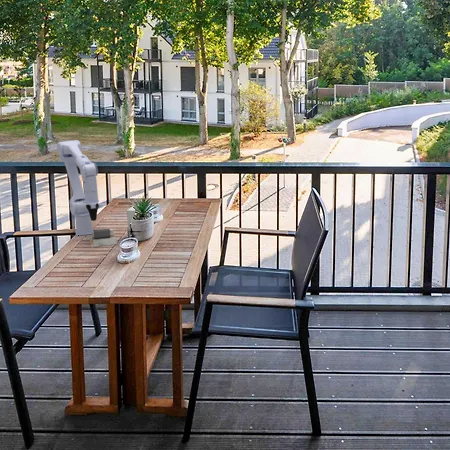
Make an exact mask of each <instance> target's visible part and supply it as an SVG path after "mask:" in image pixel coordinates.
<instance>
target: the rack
mask: <svg viewBox="0 0 450 450" xmlns="http://www.w3.org/2000/svg"><path fill="white" fill-rule="evenodd" d="M110 236H111V237H110V238H102V239H94V232H91V234H90V236H89V237H88V238H89V242H90V246H91V248H94V247H102V246H111V245H113V246H114V245H117V244H118V243H117V242H118V241H117V236H116V234H115V232H114V229H110Z"/></svg>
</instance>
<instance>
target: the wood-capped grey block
mask: <svg viewBox="0 0 450 450" xmlns="http://www.w3.org/2000/svg"><path fill="white" fill-rule="evenodd" d="M110 230H111V229H110V228H102V229H93V232H94V239H102V238H110V237H111V236H110Z"/></svg>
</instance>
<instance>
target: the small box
mask: <svg viewBox="0 0 450 450" xmlns="http://www.w3.org/2000/svg"><path fill="white" fill-rule="evenodd" d="M133 207H134V205H133V206H131V207H129V209H127V210H126V218H127V219H126V220H127V228H128V227H129V225H130V223H131V220H132V218H133V216H134V215H135V209H134V208H133Z"/></svg>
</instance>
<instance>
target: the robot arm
mask: <svg viewBox="0 0 450 450" xmlns="http://www.w3.org/2000/svg"><path fill="white" fill-rule="evenodd" d="M56 147H57V153H58V158H59V161H60V162H62V163H64V166H65V169H66V173H67V176H68V180H69V183H70V186H71V191H72V194H73V196H72V197H71V198H70V199H69V202H68V203H69V209H70V212H71V214H72V216H74V221H75V230H74V232H75V236H77V237H79V236H88V235H91V232H93V230H94V228H93V225H92V221H93V222H95V221H97V217H98V210H99V208H100V205H99V202H100V200H99V192H98V182H97V181H98V180H97V176H98V174H99V169H98V166H97V163H96V162H91V160H90V158H88V156H87V154H86V155H85V154H83V152H82V144H81V141H79V140H78V139H75V140H65V141H58V143H57V146H56ZM78 168H79V170H78ZM79 172H80V174H79ZM80 175H81V178H80ZM82 183H83V184H82ZM78 235H79V236H78Z"/></svg>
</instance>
